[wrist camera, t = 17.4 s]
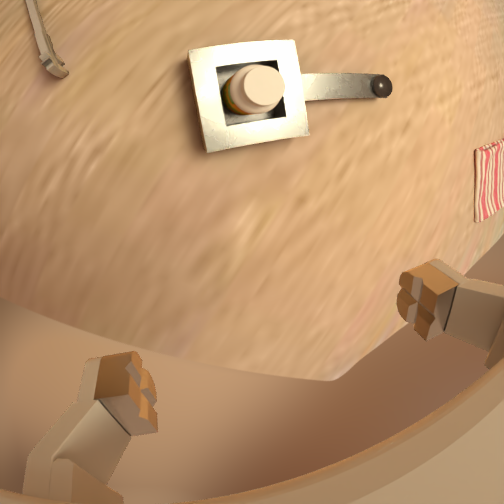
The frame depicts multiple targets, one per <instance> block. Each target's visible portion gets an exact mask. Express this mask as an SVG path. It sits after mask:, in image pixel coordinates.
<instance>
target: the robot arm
mask: <svg viewBox="0 0 504 504" xmlns="http://www.w3.org/2000/svg"><path fill="white" fill-rule="evenodd" d="M399 285H400V286H401V290H400V292H399V293H398V295H397V308H398V312H399V313H400V315H401V317H402V318H403V319H404V320H405V321H406V322H409V323H413V324H414V330H415V331H416V332H417V333H418V334H419V335H420V336H421V337H422V338H423V339H424V340H425V341H428V340H430V339H432V338H434V337H435V336H437V335H439V334H441V333H443V332H444V333H445V334H448V335H450V336H453V337H455V338H457V339H460V340H462V341H464V342H467V343H469V344H472V345H474V346H476V347H479V348H481V349H483V350H486V351H488V352H489V353H488V355H487V357H486V359H485V362H484V365H485V366H486V367H487V368H488V369H489V371H487V372H486V373H485V374H484V375H483V376H481V377H480V378H479V379H478V380H477V381H475V382H474V383H473V384H471V385H470V386H469V387H468V388H466V389H465V390H464V391H462V392H461V393H460V394H458V395H457V396H455V397H454V398H453V399H451V400H450V401H449V402H447V403H446V404H444V405H443V406H441V407H440V408H438V409H437V410H435V411H434V412H432V413H431V414H429V415H428V416H426V417H424V418H423V419H421V420H420V421H418V422H416V423H415V424H413V425H411V426H410V427H408V428H406V429H404V430H403V431H401V432H399V433H397V434H396V435H394V436H392V437H390V438H388V439H386V440H384V441H383V442H380V443H379V444H377V445H374V446H372V447H370V448H368V449H367V450H364V451H362V452H360V453H358V454H356V455H353V456H351V457H349V458H347V459H345V460H342V461H340V462H337V463H335V464H332V465H330V466H327V467H324V468H322V469H319V470H317V471H314V472H311V473H308V474H306V475H302V476H300V477H296V478H293V479H290V480H287V481H284V482H281V483H277V484H273V485H270V486H266V487H262V488H259V489H255V490H250V491H246V492H242V493H237V494H233V495H227V496H222V497H216V498H211V499H204V500H197V501H189V502H180V503H170V504H504V285H500V284H495V283H491V282H487V281H482V280H477V279H473V278H471V279H468V278H466V277H465V276H463V275H462V274H461V273H459V272H458V271H456V270H455V269H453V268H452V267H450V266H449V265H447V264H446V263H444V262H443V261H441V260H440V259H433V260H431V261H428V262H426V263H424V264H422V265H420V266H417V267H415V268H412V269H410V270H407V271H405V272H402V274H401V276H400V279H399ZM156 398H157V396H156V389H155V385H154V382H153V380H152V377H151V375H150V373H149V372H148V371H147V370H145V369H143V368H142V359H141V358H140V356H139V355H138V353H137V352H135V351H132V352H125V353H120V354H114V355H108V356H103V357H97V358H91V359H88V360H87V361H86V363H85V367H84V371H83V376H82V380H81V385H80V389H79V394H78V399H77V402H72V404H71V405H70V406H69V407H68V408H67V409H66V411H65V412H64V413H63V414H62V415H61V417H60V418H59V419H58V420H57V421H56V422H55V424H54V425H53V426H52V427H51V428H50V429H49V431H48V432H47V433H46V434H45V435H44V437H43V438H42V439H41V440H40V441H39V443H38V444H37V445H36V446H35V447H34V449H33V450H32V451H31V452H30V454H29V455H28V459H27V465H26V471H25V478H24V485H23V493H22V494H19V493H15V492H11V491H7V490H4V489H0V504H124V502H123V497H122V496H121V495H120V494H119V493H118V492H116V491H114V490H113V489H111V488H110V487H108V486H107V484H108V481H109V480H110V478H111V476H112V474H113V472H114V470H115V468H116V466H117V464H118V462H119V461H120V458H121V457H122V455H123V453H124V451H125V449H126V447H127V445H128V443H129V442H130V440H131V437H130V436H137V435H144V434H150V433H156V432H158V423H157V412H156V411H155V410H154V408H153V406H154V404H155V403H156V401H157V399H156Z"/></svg>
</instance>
